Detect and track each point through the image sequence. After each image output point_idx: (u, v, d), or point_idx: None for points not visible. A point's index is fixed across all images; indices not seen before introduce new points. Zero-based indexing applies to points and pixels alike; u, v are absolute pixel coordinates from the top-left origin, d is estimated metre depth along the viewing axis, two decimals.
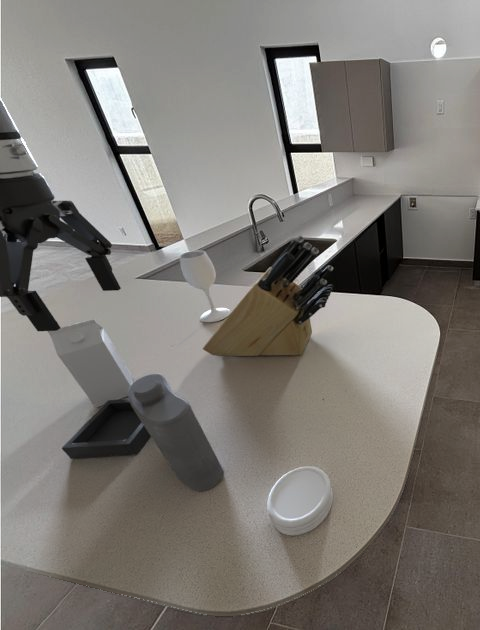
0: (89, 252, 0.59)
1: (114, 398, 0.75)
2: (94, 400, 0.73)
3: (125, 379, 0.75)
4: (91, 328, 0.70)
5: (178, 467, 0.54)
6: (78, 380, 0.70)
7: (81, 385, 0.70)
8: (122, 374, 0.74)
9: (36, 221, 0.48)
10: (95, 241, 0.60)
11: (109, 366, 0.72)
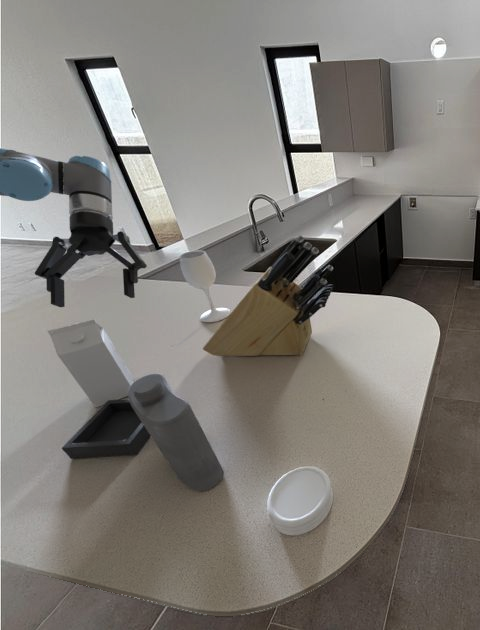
0: (53, 274, 0.75)
1: (114, 398, 0.75)
2: (94, 400, 0.73)
3: (125, 379, 0.75)
4: (91, 328, 0.70)
5: (178, 467, 0.54)
6: (78, 380, 0.70)
7: (81, 385, 0.70)
8: (122, 374, 0.74)
9: None
10: None
11: (109, 366, 0.72)
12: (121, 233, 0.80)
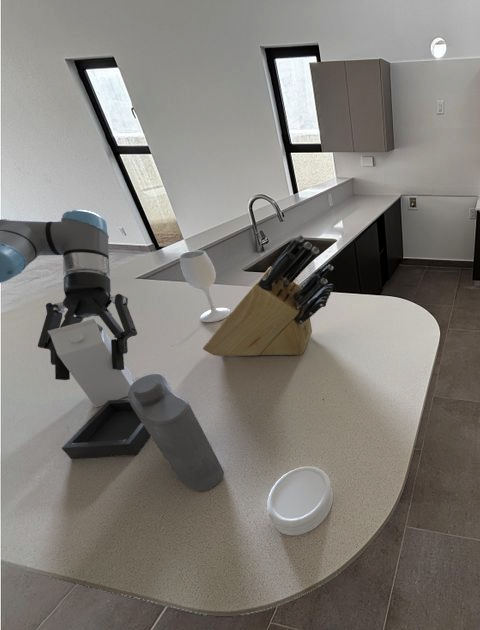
0: None
1: (114, 398, 0.75)
2: (94, 400, 0.73)
3: (125, 379, 0.75)
4: (91, 328, 0.70)
5: (178, 467, 0.54)
6: (78, 380, 0.70)
7: (81, 385, 0.70)
8: (122, 374, 0.74)
9: None
10: None
11: (109, 366, 0.72)
12: (119, 296, 0.75)
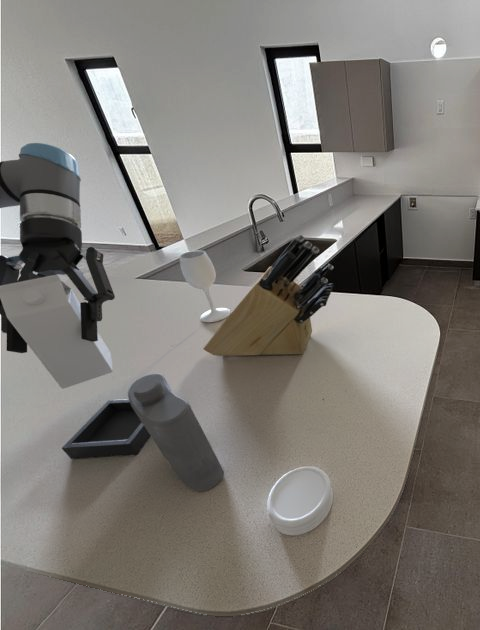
0: None
1: (86, 377, 0.60)
2: (59, 379, 0.58)
3: (99, 354, 0.60)
4: (53, 286, 0.55)
5: (178, 467, 0.54)
6: (37, 352, 0.55)
7: (41, 359, 0.55)
8: (95, 347, 0.59)
9: None
10: None
11: (78, 336, 0.57)
12: (92, 250, 0.60)
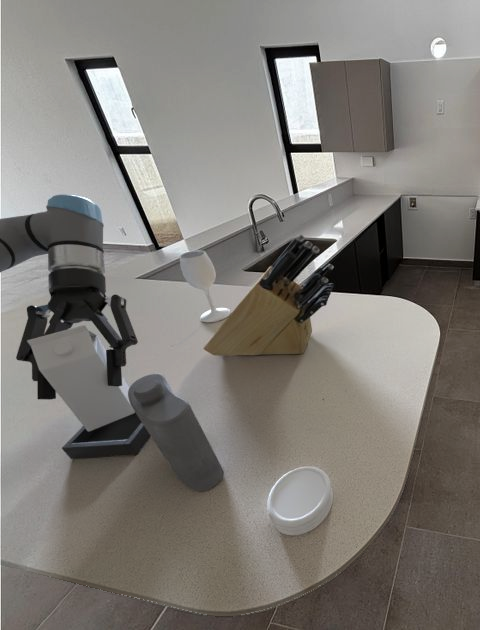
0: None
1: (110, 420, 0.63)
2: (86, 423, 0.60)
3: (123, 397, 0.63)
4: (81, 336, 0.57)
5: (178, 467, 0.54)
6: (66, 400, 0.57)
7: (70, 406, 0.58)
8: (120, 391, 0.62)
9: None
10: None
11: (104, 382, 0.60)
12: (116, 297, 0.62)
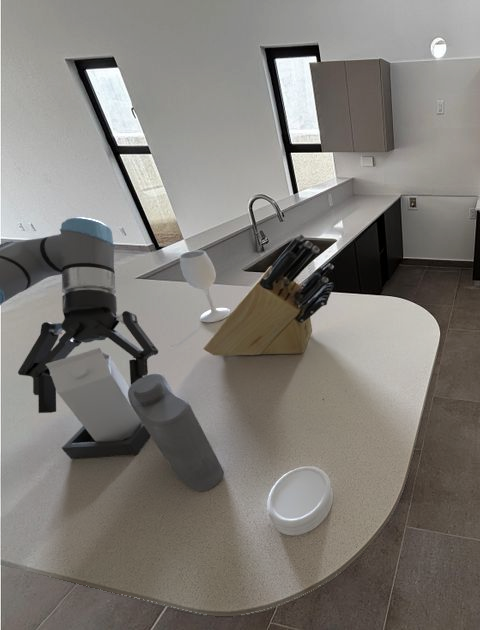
0: (41, 372, 0.60)
1: (122, 437, 0.65)
2: (100, 441, 0.63)
3: (135, 415, 0.65)
4: (96, 358, 0.60)
5: (178, 467, 0.54)
6: (81, 419, 0.60)
7: (85, 425, 0.60)
8: (132, 410, 0.64)
9: None
10: None
11: (117, 402, 0.62)
12: (127, 313, 0.65)
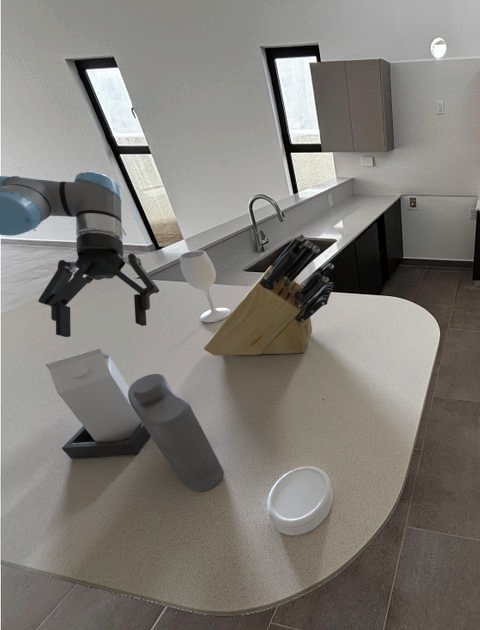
0: (58, 301, 0.69)
1: (122, 437, 0.65)
2: (100, 441, 0.63)
3: (135, 415, 0.65)
4: (96, 359, 0.60)
5: (178, 467, 0.54)
6: (81, 419, 0.60)
7: (85, 425, 0.60)
8: (132, 410, 0.64)
9: None
10: None
11: (117, 402, 0.62)
12: (132, 255, 0.74)
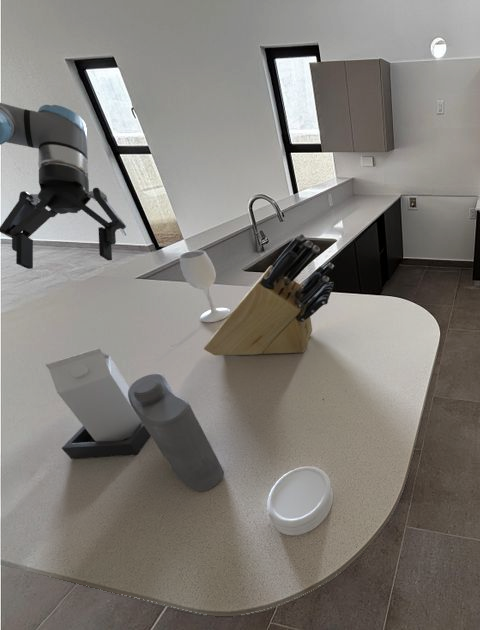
0: (19, 232, 0.68)
1: (122, 437, 0.65)
2: (100, 441, 0.63)
3: (135, 415, 0.65)
4: (96, 359, 0.60)
5: (178, 467, 0.54)
6: (81, 419, 0.60)
7: (85, 425, 0.60)
8: (132, 410, 0.64)
9: None
10: None
11: (117, 402, 0.62)
12: (97, 189, 0.73)
